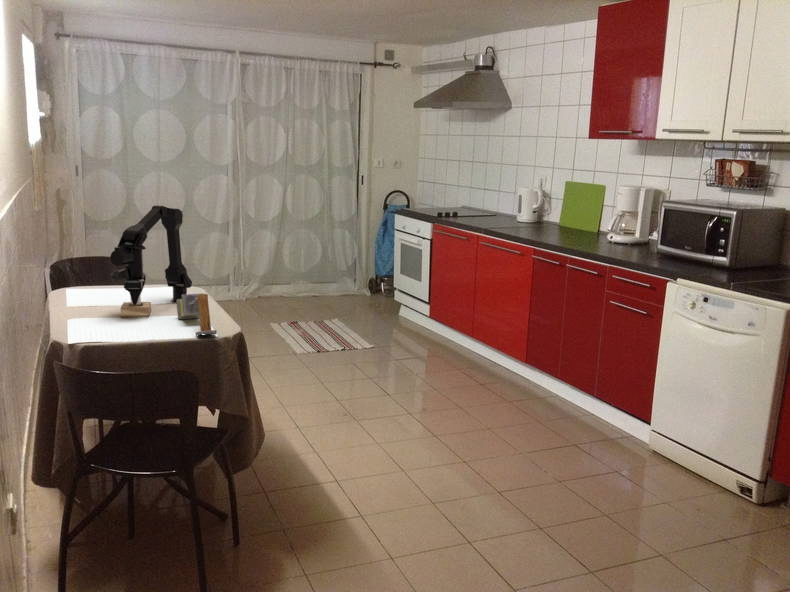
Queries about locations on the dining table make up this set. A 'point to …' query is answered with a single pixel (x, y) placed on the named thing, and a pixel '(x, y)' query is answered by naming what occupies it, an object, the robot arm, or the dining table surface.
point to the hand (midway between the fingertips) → (136, 302)
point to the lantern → (195, 311)
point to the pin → (137, 302)
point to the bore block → (135, 310)
